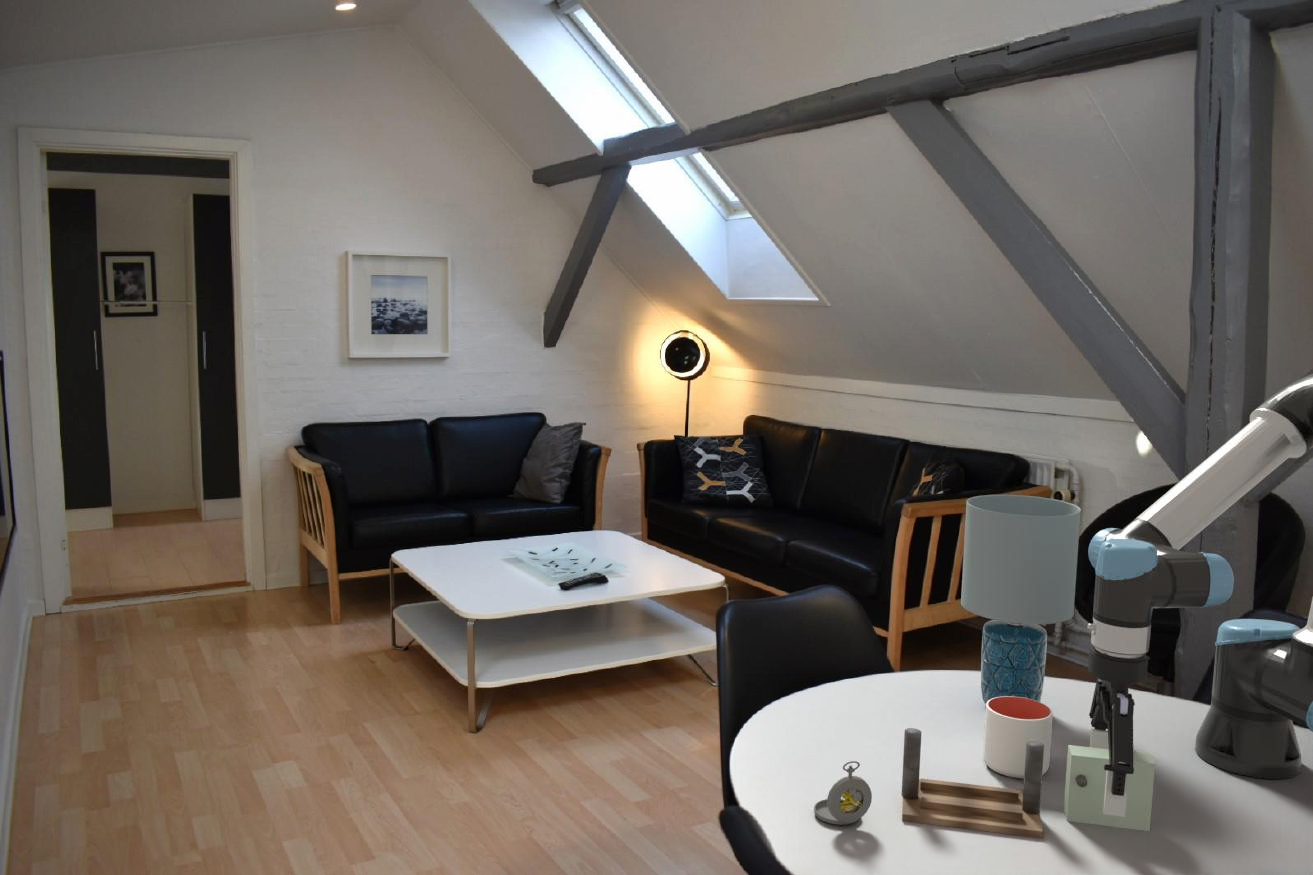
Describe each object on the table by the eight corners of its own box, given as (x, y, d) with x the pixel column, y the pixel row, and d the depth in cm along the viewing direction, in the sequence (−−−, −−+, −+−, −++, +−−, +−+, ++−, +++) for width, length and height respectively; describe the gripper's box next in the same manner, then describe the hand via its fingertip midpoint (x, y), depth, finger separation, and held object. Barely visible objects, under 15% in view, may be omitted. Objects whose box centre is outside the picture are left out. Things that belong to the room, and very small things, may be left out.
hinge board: (1034, 798, 159) (1039, 728, 158) (1043, 838, 148) (1048, 763, 146) (901, 783, 164) (905, 714, 162) (900, 820, 152) (904, 747, 151)
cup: (1053, 784, 164) (1057, 722, 163) (985, 778, 166) (989, 716, 165) (1043, 757, 174) (1047, 698, 172) (979, 751, 176) (983, 693, 174)
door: (1144, 819, 154) (1149, 753, 152) (1150, 834, 149) (1156, 766, 148) (1063, 809, 156) (1068, 744, 155) (1067, 824, 152) (1072, 757, 151)
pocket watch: (828, 800, 158) (831, 736, 157) (879, 818, 153) (882, 752, 151) (799, 821, 152) (801, 754, 150) (851, 840, 146) (854, 771, 145)
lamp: (970, 727, 185) (982, 514, 180) (944, 686, 204) (955, 493, 199) (1082, 730, 184) (1097, 517, 179) (1046, 689, 204) (1059, 495, 198)
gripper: (1077, 621, 163) (1065, 753, 165) (1105, 676, 139) (1091, 829, 141) (1130, 626, 161) (1117, 759, 164) (1167, 683, 137) (1152, 838, 140)
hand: (1105, 792), depth 153 cm, fingers open, 13 cm apart
